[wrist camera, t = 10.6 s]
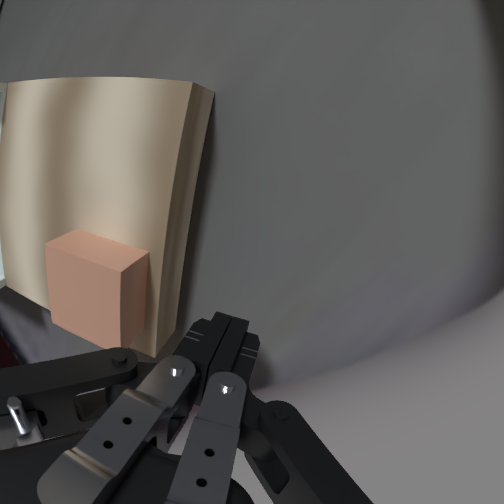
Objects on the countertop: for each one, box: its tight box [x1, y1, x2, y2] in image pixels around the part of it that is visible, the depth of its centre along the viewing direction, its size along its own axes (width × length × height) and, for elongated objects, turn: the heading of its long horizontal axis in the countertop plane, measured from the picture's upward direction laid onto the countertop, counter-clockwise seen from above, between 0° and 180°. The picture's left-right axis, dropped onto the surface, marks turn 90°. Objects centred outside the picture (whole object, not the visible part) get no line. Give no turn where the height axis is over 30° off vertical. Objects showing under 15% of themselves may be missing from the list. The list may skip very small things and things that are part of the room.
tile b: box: [45, 229, 149, 349], centre depth 14 cm, size 4×4×2 cm
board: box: [0, 77, 215, 358], centre depth 16 cm, size 13×14×3 cm
